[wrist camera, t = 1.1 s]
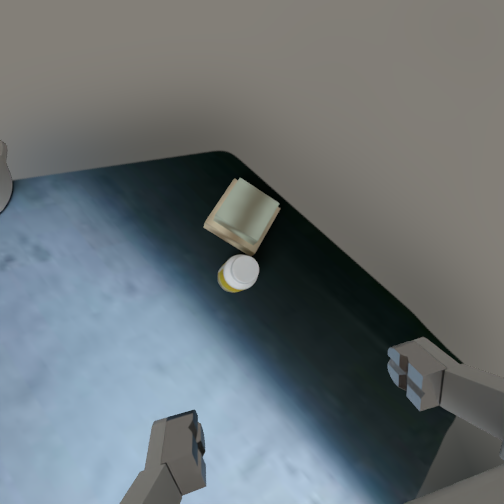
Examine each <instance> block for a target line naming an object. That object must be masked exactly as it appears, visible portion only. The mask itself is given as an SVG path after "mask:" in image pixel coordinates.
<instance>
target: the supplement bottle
mask: <svg viewBox="0 0 504 504" xmlns="http://www.w3.org/2000/svg"><path fill="white" fill-rule="evenodd" d="M258 274H259V265H258V263H257V261H256V260H255V259H254V258H252V257H250V256H247V255H235V256H233V257H231V258H230V259H228V261H227V262H226V263H225V264H224V265H223V266H222V267H221V268H220V270H219V272H218V282H219V284H220V286H221V287H222V288H223V289H224V290H226V291H228V292H239V291H242V290H245V289H247V288H249V287H251V286H252V285H253V284H254V283H255V282H256V280H257V277H258Z"/></svg>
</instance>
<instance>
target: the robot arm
mask: <svg viewBox="0 0 504 504" xmlns="http://www.w3.org/2000/svg"><path fill="white" fill-rule="evenodd" d="M6 157H7V146H6V144H5V143H4V142H2V141H1V140H0V212H1V211H2V210H3V209H4V207H5V206H6V204H7V203H8V201H9V199H10V196H11V193H12V177H11V174H10V171H9V169H8V166H7V164H6ZM388 356H389V357H390V358H391V359H390V361H389V362H388V371H389V373H390V376H391V378H392V379H393V381H394V382H395V383H396V385H397V386H398V387H400V388H402V389H404V390H406V394H407V397H408V398H409V399H410V401H411V402H412V403H413V404H414V405H415V406H416V407H417V408H418V410H419V411H422V410H425V409H429V408H432V407H435V406H438V405H440V406H441V407H443V408H444V409H446V410H448V411H450V412H452V413H453V414H455V415H457V416H459V417H461V418H462V419H464V420H466V421H468V422H470V423H471V424H473V425H475V426H477V427H478V428H480V429H482V430H484V431H486V432H488V433H489V434H491V435H493V436H495V437H496V438H498V439H500V440H502V445H501V449H500V457H501V458H502V459H503V460H504V378H503V377H500V376H498V375H495V374H492V373H489V372H486V371H483V370H480V369H477V368H474V367H471V366H468V365H466V364H461V365H460V364H458V363H457V362H456V361H455V360H453V359H452V358H451V357H450V356H448V355H447V354H446V353H444V352H443V351H442V350H441V349H439V348H438V347H437V346H435V345H434V344H433V343H432V342H430V341H429V340H428V339H426V338H423V337H422V338H419V339H416V340H412V341H408V342H405V343H402V344H399V345H396V346H393V347H390V348H389V350H388ZM204 453H205V440H204V433H203V429H202V426H201V423H199V422H198V415H197V413H196V411H195V410H191V411H188V412H184V413H181V414H177V415H174V416H170V417H167V418H164V419H160V420H157V421H154V423H153V425H152V429H151V435H150V441H149V446H148V452H147V458H146V464H145V470H144V471H141V472H140V473H139V474H138V476H137V478H136V479H135V481H134V482H133V484H132V485H131V487H130V488H129V490H128V491H127V493H126V494H125V496H124V498H123V499H122V501H121V502H120V504H180V502H181V499H182V496H183V495H185V494H188V493H190V492H193V491H195V490H198V489H201V488H203V487H206V465H205V462H204V460H203V455H204ZM404 504H504V464H503V465H500V466H498V467H495V468H493V469H490V470H488V471H485V472H483V473H480V474H478V475H475V476H472V477H470V478H468V479H465V480H462V481H460V482H457V483H455V484H452V485H450V486H447V487H445V488H442V489H440V490H437V491H434V492H432V493H429V494H427V495H424V496H422V497H419V498H417V499H414V500H412V501H409V502H407V503H404Z"/></svg>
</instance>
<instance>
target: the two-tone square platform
mask: <svg viewBox="0 0 504 504" xmlns="http://www.w3.org/2000/svg"><path fill="white" fill-rule="evenodd" d="M278 205H279V203H278V202H277V201H275V200H274V199H272V198H271V197H269V196H268V195H266V194H265V193H263V192H261V191H260V190H258V189H257V188H255V187H254V186H252V185H251V184H249V183H248V182H246V181H245V180H243V179H242V178H239V180H236V179H235V178H234V180H233V181H232V183H231V184H230V186H229V187H228V189H227V190H226V192H225V193H224V195H223V196H222V197H221V199H220V200H219V202H218V203H217V205H216V206H215V208H214V209H213V211H212V212H211V214H210V215H209V217H208V218H207V220H206V221H205V224H204V228H205V229H207V230H209V231H210V232H212V233H213V234H215V235H217V236H218V237H220V238H221V239H223V240H225V241H226V242H228V243H229V244H231V245H233V246H234V247H236V248H238V249H239V250H241V251H242V252H244V253H246V254H247V255H249V256H250V257H251V256H252V255H254V254H255V253H256V251H257V249H258V247H259V246H260V244H261V242H262V240H263V239H264V237H265V235H266V233H267V232H268V230H269V228H270V226H271V225H272V223H273V221H274V219H275V217H276V216H277V214H278V212H279V210H280V209H281V208H279V207H278Z"/></svg>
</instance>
